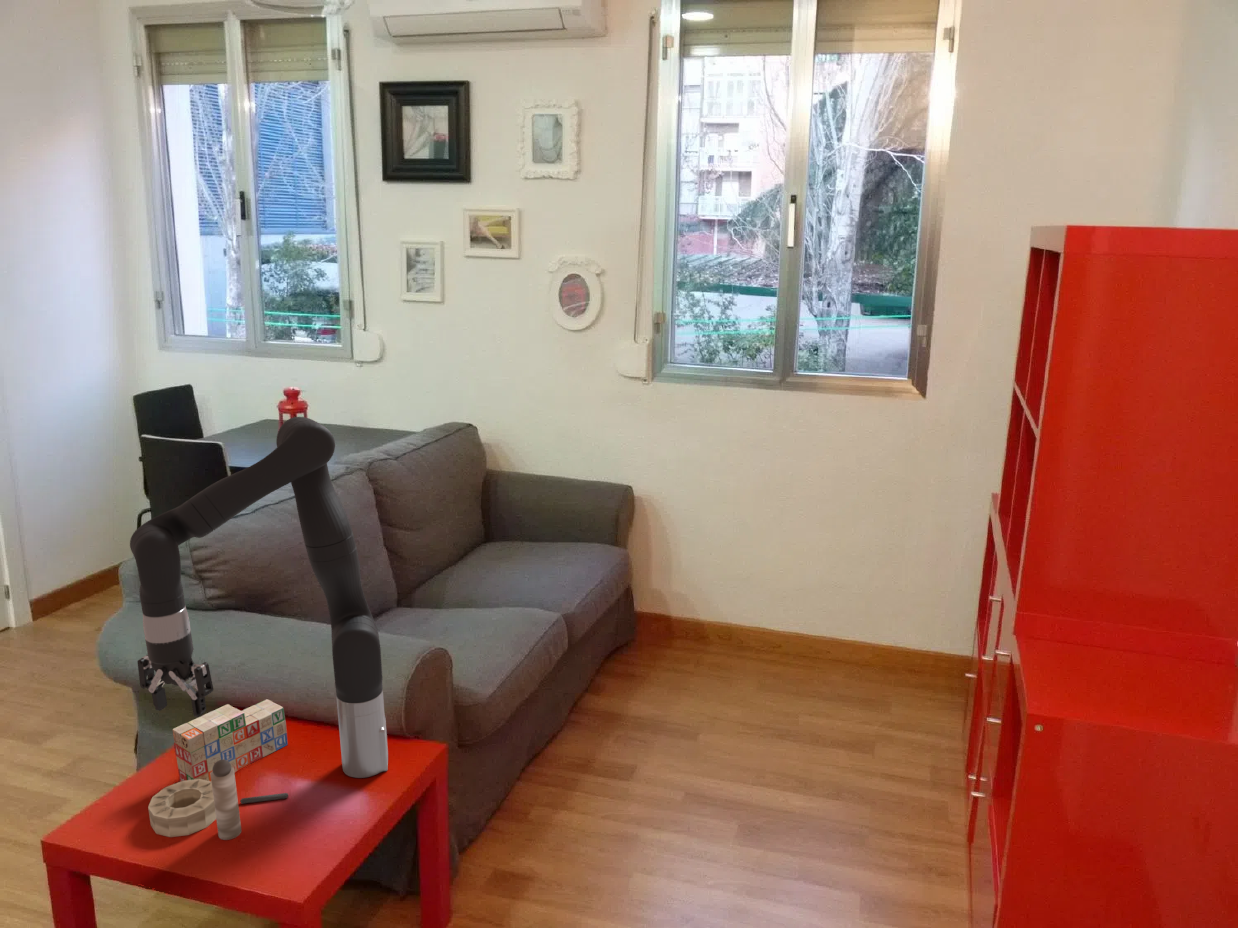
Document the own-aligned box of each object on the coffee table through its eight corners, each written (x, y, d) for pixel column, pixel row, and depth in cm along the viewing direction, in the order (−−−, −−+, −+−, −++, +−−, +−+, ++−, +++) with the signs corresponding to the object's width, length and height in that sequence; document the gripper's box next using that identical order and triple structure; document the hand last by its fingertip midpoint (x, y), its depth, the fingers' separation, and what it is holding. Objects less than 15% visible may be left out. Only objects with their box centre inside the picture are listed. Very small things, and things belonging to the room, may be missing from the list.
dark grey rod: (288, 795, 186) (288, 791, 186) (288, 798, 185) (287, 794, 185) (241, 801, 185) (240, 797, 184) (240, 804, 184) (239, 800, 183)
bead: (225, 793, 187) (223, 775, 186) (213, 831, 176) (211, 813, 175) (160, 801, 185) (158, 783, 183) (144, 840, 173) (141, 821, 172)
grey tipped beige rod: (243, 824, 178) (234, 753, 174) (239, 838, 174) (230, 765, 170) (220, 827, 177) (211, 756, 173) (216, 841, 173) (207, 768, 169)
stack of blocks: (271, 735, 208) (266, 685, 204) (288, 745, 204) (283, 694, 201) (178, 781, 191) (171, 728, 188) (195, 792, 188) (188, 738, 184)
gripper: (215, 627, 171) (226, 706, 175) (151, 618, 175) (163, 696, 179) (185, 646, 164) (198, 727, 168) (119, 636, 168) (133, 716, 172)
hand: (180, 711), depth 174 cm, fingers open, 8 cm apart
